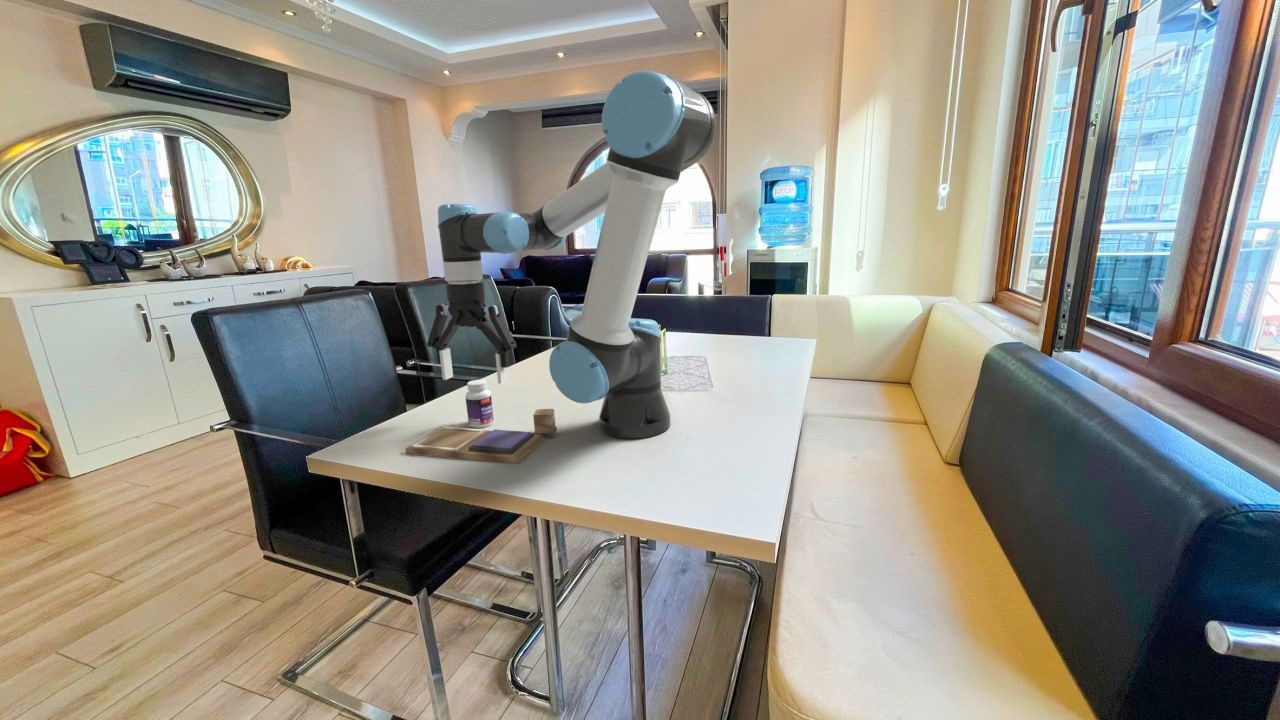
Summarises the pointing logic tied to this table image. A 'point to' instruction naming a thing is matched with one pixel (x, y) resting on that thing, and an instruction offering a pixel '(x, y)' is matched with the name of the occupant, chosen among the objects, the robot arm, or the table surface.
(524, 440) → the board
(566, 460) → the table surface
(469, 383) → the pill bottle
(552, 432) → the stamp block
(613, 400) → the robot arm
